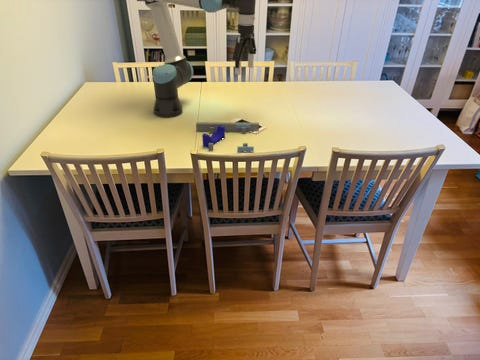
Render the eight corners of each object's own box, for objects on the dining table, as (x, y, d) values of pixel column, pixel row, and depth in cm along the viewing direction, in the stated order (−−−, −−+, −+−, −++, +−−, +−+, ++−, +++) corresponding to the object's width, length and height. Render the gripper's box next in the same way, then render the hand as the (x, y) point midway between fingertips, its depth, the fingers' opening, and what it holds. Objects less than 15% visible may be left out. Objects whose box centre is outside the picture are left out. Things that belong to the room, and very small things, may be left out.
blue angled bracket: (217, 135, 159) (217, 124, 155) (224, 138, 156) (224, 126, 153) (200, 145, 150) (199, 133, 147) (208, 148, 148) (207, 136, 145)
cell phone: (238, 119, 175) (238, 117, 175) (266, 129, 166) (266, 127, 166) (227, 124, 170) (227, 122, 169) (255, 135, 160) (255, 133, 160)
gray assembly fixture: (193, 152, 145) (192, 144, 143) (196, 129, 163) (196, 122, 160) (262, 152, 146) (263, 144, 144) (258, 130, 164) (258, 122, 162)
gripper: (240, 29, 143) (238, 79, 155) (264, 21, 161) (261, 65, 173) (225, 27, 146) (224, 76, 158) (251, 19, 164) (248, 63, 176)
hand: (244, 70), depth 166 cm, fingers open, 13 cm apart
